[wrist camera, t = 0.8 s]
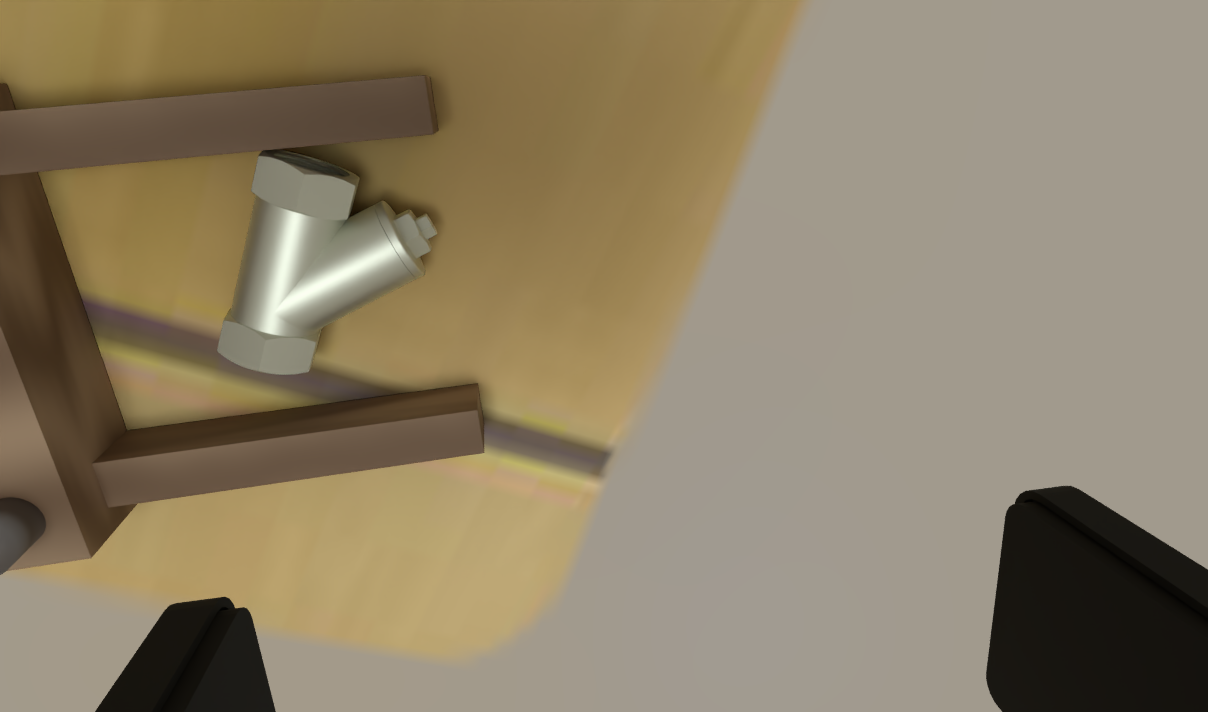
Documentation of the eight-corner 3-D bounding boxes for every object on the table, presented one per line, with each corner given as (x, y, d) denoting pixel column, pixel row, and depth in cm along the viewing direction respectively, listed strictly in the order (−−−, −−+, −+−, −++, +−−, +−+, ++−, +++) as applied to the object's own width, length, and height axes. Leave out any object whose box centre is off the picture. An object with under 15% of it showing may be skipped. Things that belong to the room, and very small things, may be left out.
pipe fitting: (444, 197, 31) (274, 144, 29) (446, 214, 27) (253, 154, 25) (395, 368, 33) (234, 330, 31) (391, 403, 29) (209, 364, 27)
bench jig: (-115, 93, 26) (-316, 92, 19) (425, 49, 28) (408, 35, 22) (50, 505, 32) (-61, 610, 25) (486, 442, 34) (487, 524, 28)
